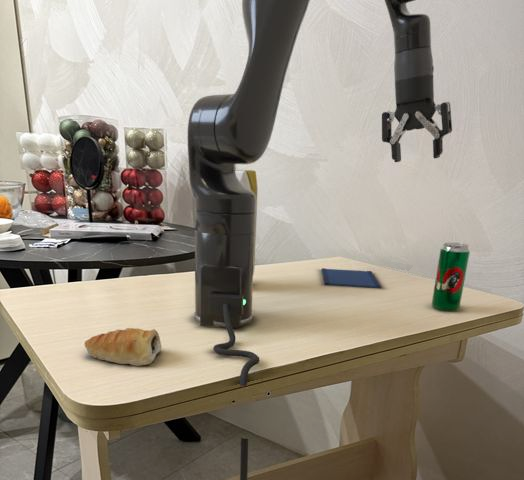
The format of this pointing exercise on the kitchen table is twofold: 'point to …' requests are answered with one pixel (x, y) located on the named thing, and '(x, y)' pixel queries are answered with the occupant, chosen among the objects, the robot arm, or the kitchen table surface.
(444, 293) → the soda can
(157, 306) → the kitchen table surface
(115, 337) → the pastry
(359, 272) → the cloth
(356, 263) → the kitchen table surface
